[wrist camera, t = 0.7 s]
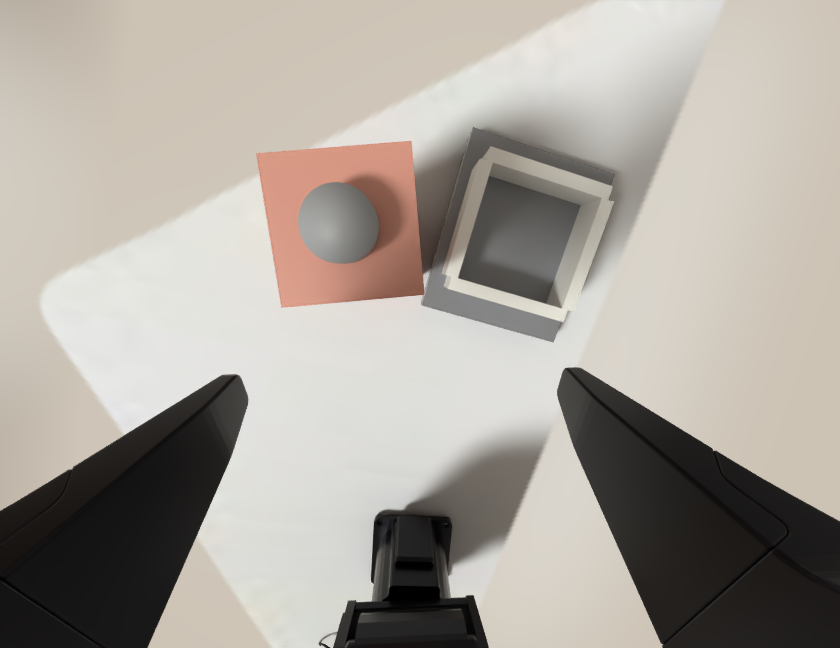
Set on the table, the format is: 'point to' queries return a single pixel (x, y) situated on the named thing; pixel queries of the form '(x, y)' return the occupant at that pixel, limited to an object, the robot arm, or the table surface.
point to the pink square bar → (343, 223)
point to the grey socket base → (518, 236)
